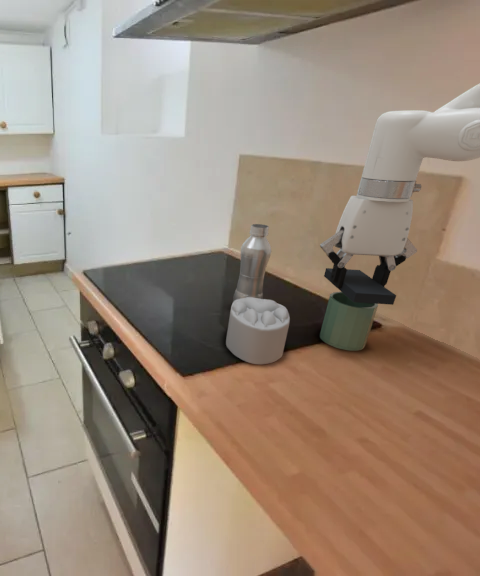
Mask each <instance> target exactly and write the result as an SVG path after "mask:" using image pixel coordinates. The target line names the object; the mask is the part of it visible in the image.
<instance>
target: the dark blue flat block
mask: <svg viewBox="0 0 480 576" xmlns="http://www.w3.org/2000/svg"><path fill="white" fill-rule="evenodd" d="M332 269H333V267H332V268H329V267H327V268H325V269H324V270H325V271H324V275H323V277H324V278H325V279H327V281H328V282H329V283H331V280H330V277H331V273H332ZM346 269H347V272H346V275H345V279H344V282H343V285H342V288H337V289H338V290H339V292H342V293H344V294H345V295H346V296H347V297H348V298H349V299H350V300H352V301H353V302H359V303H374V304H378V305H391V306H393V305H394V304H395V301H396V297H397V294H395V293H394V292H393V291H391V290H389V289H388V288H387V287H385V286H382V285H381V284H379V283H378V282H376V281H375V280H373V279H372V278H373V277H371V276H369V275H368V274H366V273H365V272H363V271H362V270H361V269H349V268H346Z"/></svg>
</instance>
